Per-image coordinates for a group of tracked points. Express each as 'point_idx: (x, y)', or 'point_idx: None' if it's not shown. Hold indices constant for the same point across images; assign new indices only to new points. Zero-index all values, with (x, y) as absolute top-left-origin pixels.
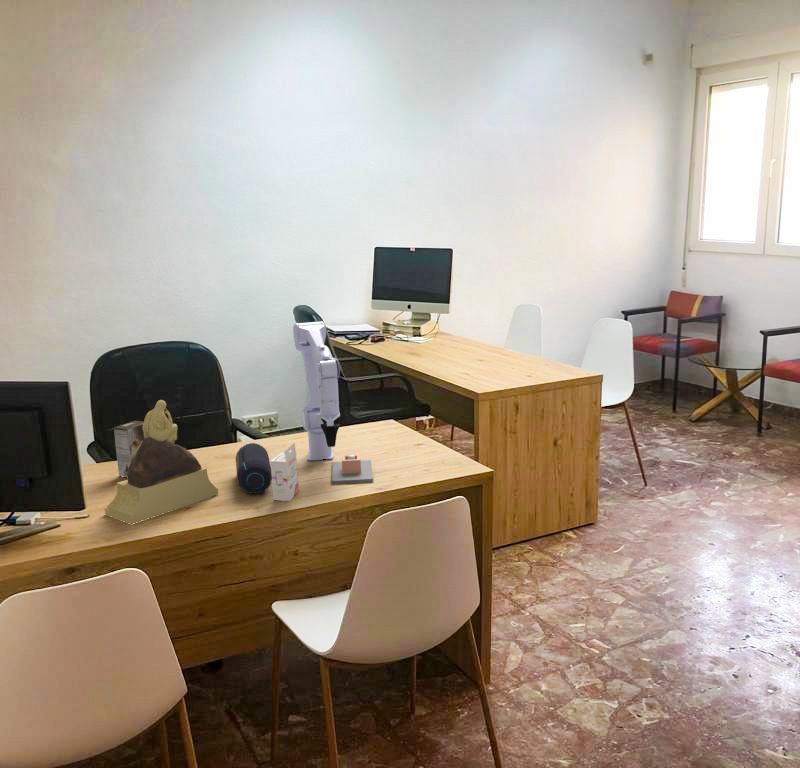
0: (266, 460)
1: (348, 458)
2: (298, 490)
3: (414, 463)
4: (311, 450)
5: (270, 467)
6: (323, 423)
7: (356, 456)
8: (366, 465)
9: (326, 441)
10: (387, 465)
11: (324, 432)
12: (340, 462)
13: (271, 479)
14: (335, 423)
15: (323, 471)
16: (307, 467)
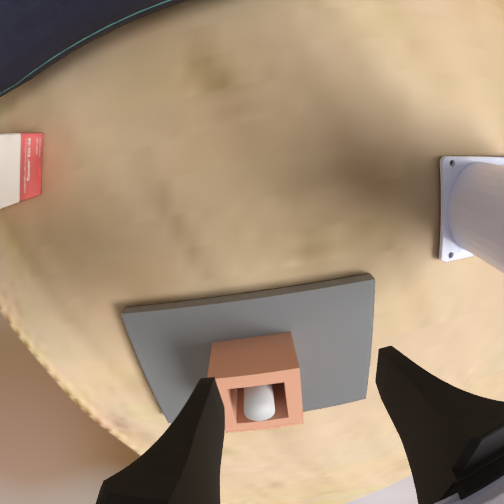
0: (11, 25)
1: (251, 396)
2: (38, 195)
3: (332, 465)
4: (479, 177)
5: (3, 64)
6: (443, 418)
7: (287, 413)
8: (310, 399)
9: (186, 402)
10: (331, 429)
11: (138, 460)
12: (367, 311)
13: (5, 91)
14: (414, 470)
15: (292, 246)
16: (357, 161)
